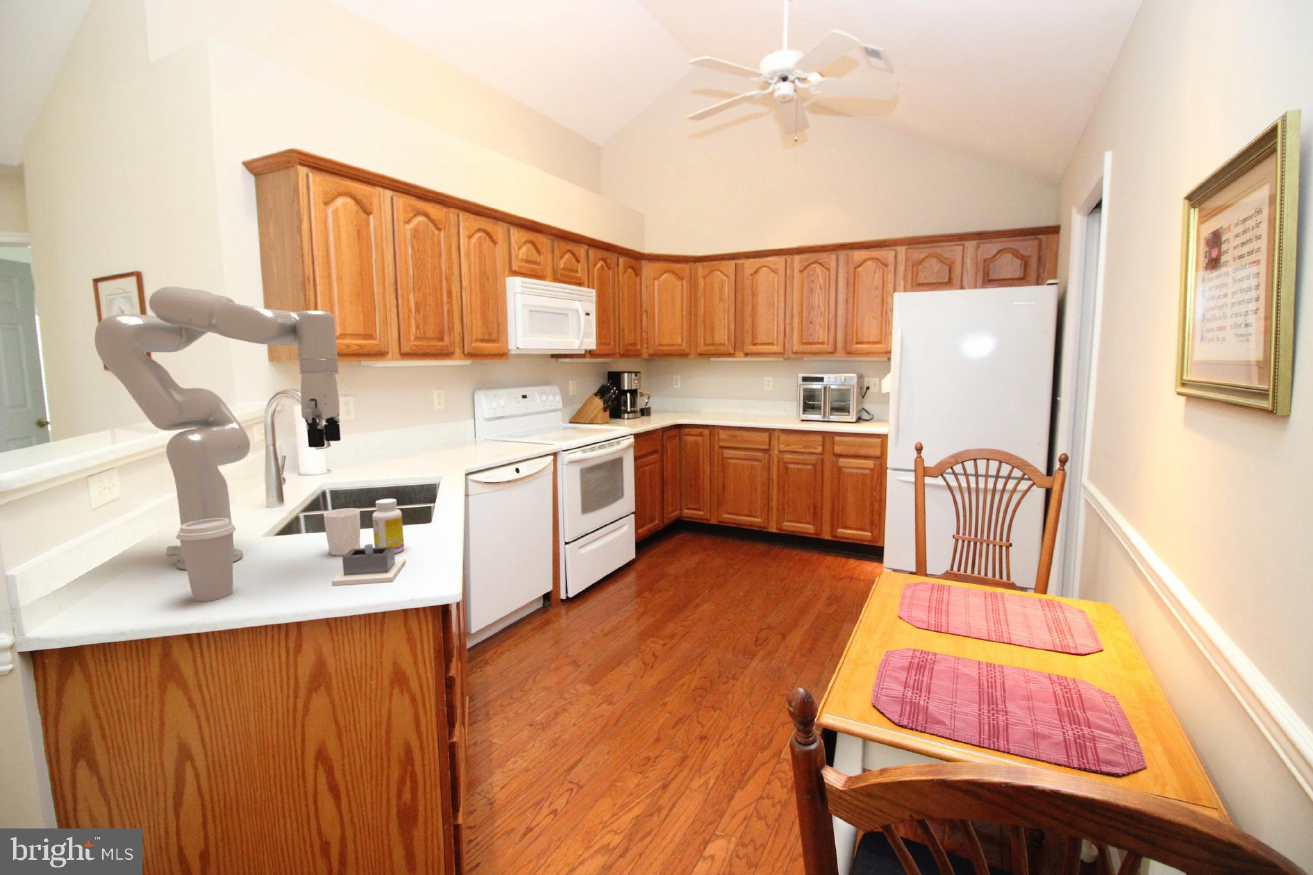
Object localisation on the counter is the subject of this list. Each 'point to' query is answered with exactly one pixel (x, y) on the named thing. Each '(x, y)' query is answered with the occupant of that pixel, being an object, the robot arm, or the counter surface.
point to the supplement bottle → (388, 525)
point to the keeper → (369, 578)
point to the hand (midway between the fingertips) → (325, 443)
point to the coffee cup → (208, 557)
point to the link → (368, 561)
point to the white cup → (342, 530)
